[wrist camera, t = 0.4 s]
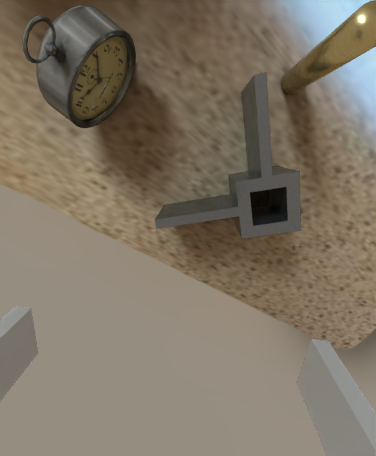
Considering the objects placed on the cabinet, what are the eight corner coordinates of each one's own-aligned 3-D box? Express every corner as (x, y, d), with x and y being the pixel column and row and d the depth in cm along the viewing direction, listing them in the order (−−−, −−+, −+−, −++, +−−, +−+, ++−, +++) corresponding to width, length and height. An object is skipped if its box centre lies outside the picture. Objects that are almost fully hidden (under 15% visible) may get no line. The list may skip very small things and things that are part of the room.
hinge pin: (280, 72, 30) (350, 5, 16) (303, 67, 30) (394, -5, 16) (281, 96, 31) (349, 53, 17) (303, 91, 31) (390, 44, 17)
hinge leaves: (144, 112, 33) (127, 101, 25) (273, 85, 31) (296, 65, 23) (169, 229, 38) (161, 250, 31) (280, 213, 36) (300, 230, 29)
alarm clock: (105, 133, 34) (27, 122, 19) (73, 108, 33) (-37, 74, 18) (148, 62, 31) (96, -23, 15) (113, 32, 30) (21, -89, 15)
